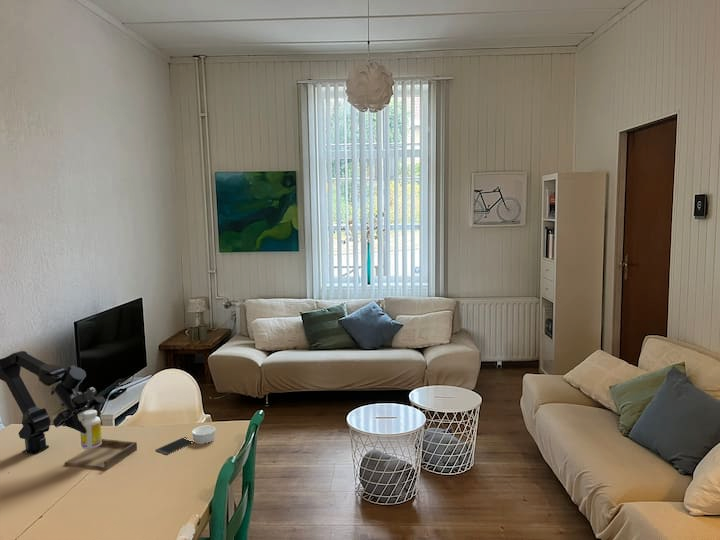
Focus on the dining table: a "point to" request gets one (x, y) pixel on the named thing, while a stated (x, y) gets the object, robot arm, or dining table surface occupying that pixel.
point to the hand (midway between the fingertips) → (93, 428)
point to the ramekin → (203, 434)
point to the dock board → (103, 454)
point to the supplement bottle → (91, 430)
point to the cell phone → (174, 446)
